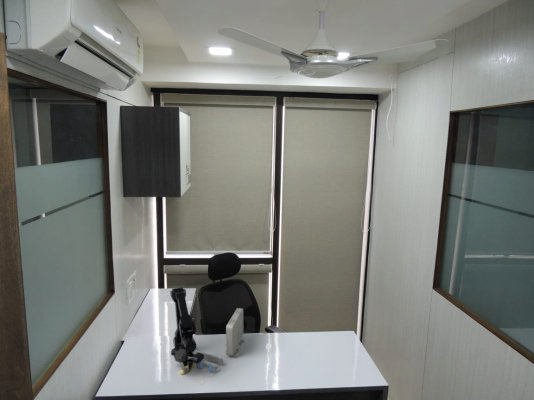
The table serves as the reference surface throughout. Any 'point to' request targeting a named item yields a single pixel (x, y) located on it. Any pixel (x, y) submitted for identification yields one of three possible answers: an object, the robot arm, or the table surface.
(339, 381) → the table surface
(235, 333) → the network device
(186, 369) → the yellow capsule with collar
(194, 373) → the pipe mounting panel
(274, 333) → the table surface
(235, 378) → the table surface
